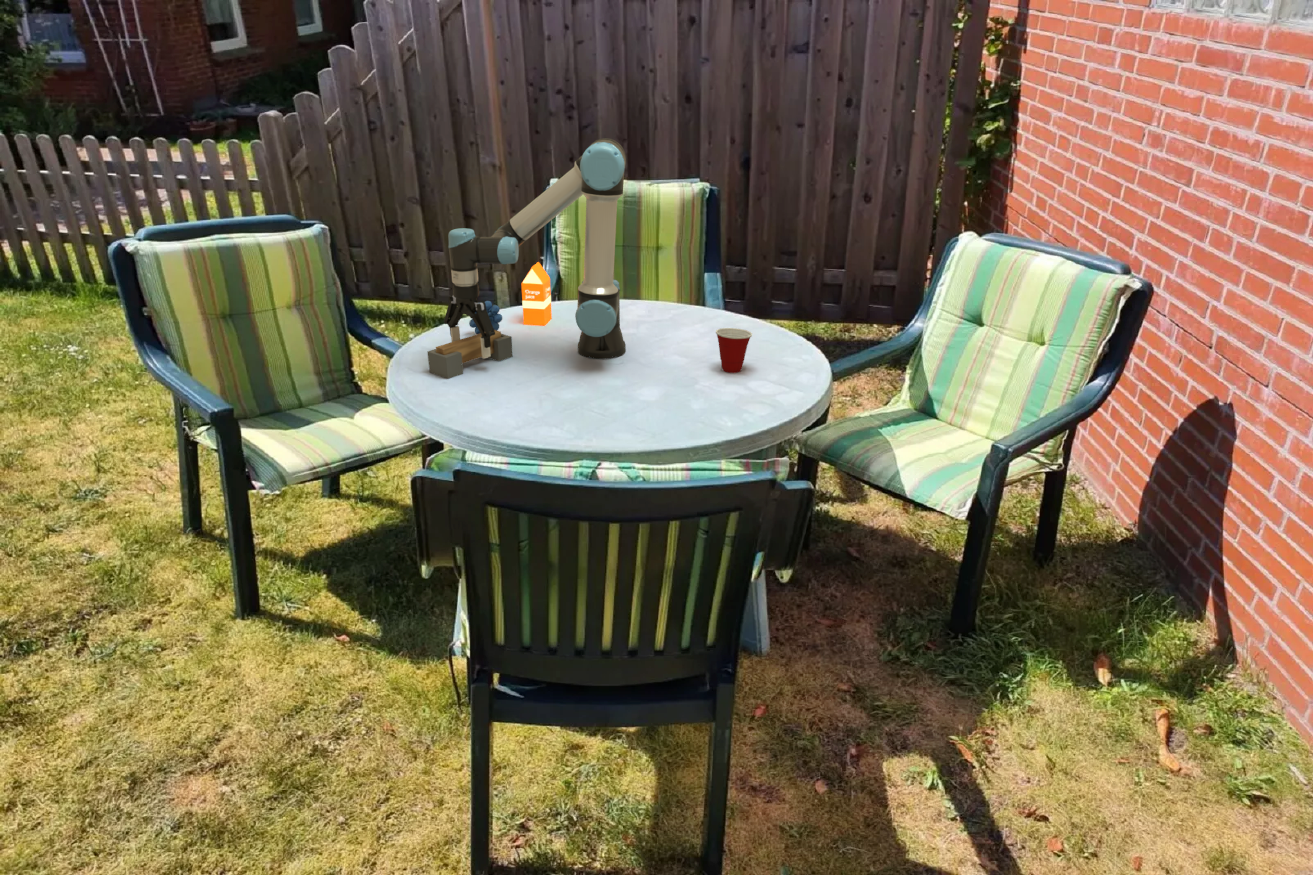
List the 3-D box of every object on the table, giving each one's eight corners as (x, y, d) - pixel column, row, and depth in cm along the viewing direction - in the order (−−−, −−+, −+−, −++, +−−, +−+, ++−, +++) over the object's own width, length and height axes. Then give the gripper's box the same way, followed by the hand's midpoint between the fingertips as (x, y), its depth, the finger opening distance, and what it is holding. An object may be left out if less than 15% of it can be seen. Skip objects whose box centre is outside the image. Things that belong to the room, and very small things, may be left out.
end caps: (512, 356, 278) (511, 336, 275) (448, 378, 260) (446, 357, 257) (494, 350, 283) (492, 331, 280) (429, 372, 265) (427, 351, 262)
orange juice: (523, 324, 308) (520, 267, 299) (530, 317, 315) (527, 261, 307) (545, 326, 306) (542, 268, 298) (552, 318, 314) (549, 262, 306)
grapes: (508, 333, 299) (505, 298, 294) (500, 339, 293) (498, 303, 288) (475, 330, 301) (472, 295, 296) (467, 336, 295) (464, 301, 290)
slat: (502, 350, 277) (500, 331, 275) (445, 369, 262) (443, 349, 259) (494, 347, 279) (493, 329, 277) (437, 366, 264) (435, 347, 261)
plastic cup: (757, 369, 269) (760, 331, 264) (735, 378, 262) (737, 339, 257) (729, 360, 276) (731, 323, 271) (706, 369, 268) (708, 331, 263)
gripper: (427, 278, 265) (434, 346, 274) (484, 293, 251) (489, 364, 260) (448, 273, 271) (454, 340, 280) (504, 287, 256) (508, 358, 265)
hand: (471, 352), depth 270 cm, fingers open, 13 cm apart
